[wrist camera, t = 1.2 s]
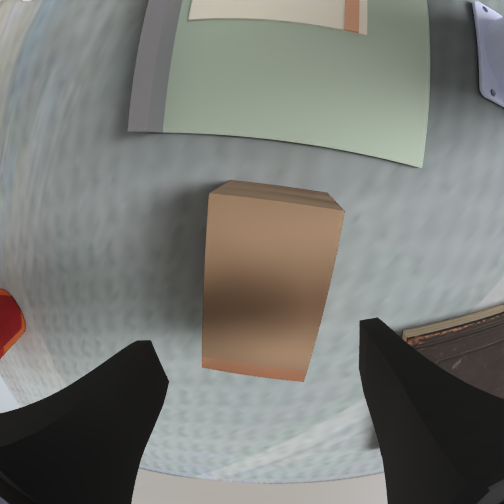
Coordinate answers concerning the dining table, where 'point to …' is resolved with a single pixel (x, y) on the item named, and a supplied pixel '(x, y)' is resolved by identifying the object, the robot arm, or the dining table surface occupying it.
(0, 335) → the paper cup
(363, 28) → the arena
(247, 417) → the dining table surface
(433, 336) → the hardcover book
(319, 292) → the walnut block
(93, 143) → the dining table surface
